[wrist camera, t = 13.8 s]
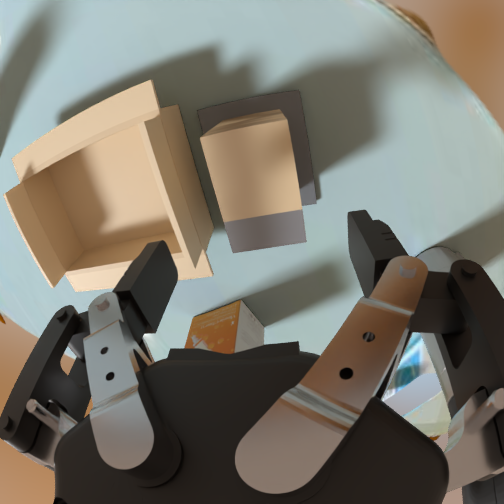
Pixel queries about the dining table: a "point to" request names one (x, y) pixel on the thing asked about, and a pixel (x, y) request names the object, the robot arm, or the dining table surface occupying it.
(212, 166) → the block
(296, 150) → the slate mat
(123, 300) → the robot arm
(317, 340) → the dining table surface
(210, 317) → the small box
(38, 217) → the carton
